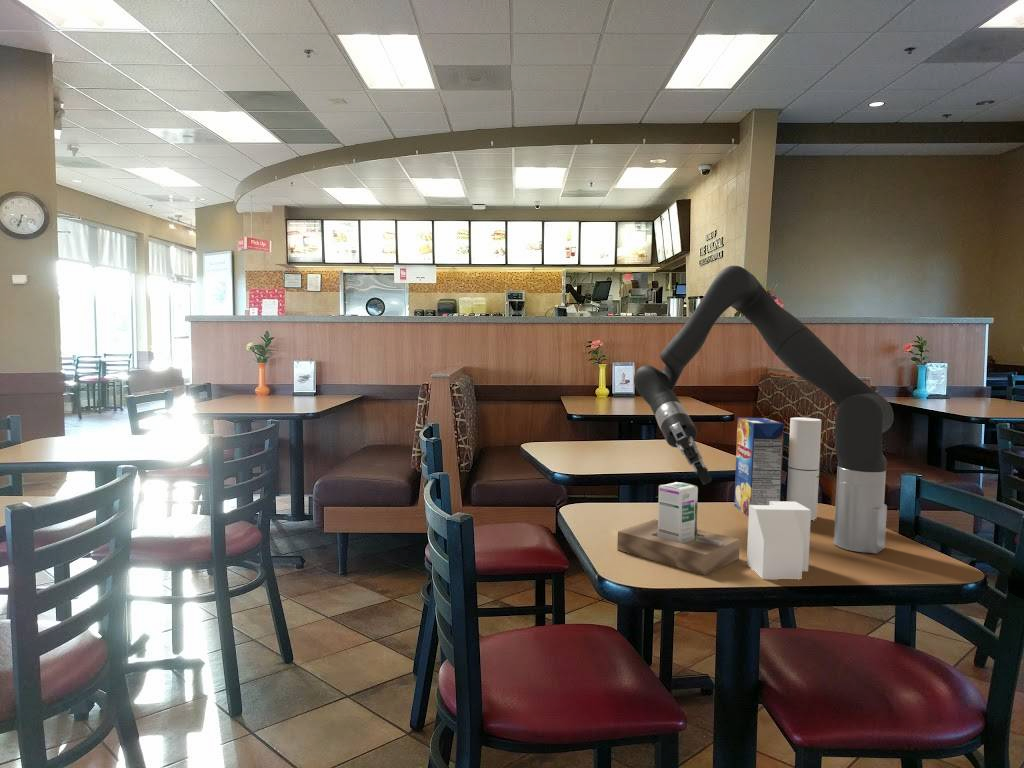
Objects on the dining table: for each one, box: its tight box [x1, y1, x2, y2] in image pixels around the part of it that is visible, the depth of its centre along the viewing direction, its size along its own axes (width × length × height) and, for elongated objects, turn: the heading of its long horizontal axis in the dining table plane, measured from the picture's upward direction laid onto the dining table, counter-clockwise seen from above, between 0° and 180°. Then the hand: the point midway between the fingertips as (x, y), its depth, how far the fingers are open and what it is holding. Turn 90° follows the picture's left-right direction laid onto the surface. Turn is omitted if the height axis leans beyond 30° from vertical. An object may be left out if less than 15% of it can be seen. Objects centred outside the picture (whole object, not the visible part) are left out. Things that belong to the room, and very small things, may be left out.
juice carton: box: [733, 417, 785, 518], centre depth 169 cm, size 12×8×24 cm, turn 0°
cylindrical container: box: [786, 417, 822, 521], centre depth 165 cm, size 7×7×25 cm
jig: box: [616, 519, 741, 576], centre depth 134 cm, size 20×14×5 cm
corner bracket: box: [746, 500, 812, 581], centre depth 126 cm, size 11×11×12 cm
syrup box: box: [657, 481, 699, 544], centre depth 134 cm, size 6×6×14 cm
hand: (701, 472), depth 145 cm, fingers open, 8 cm apart
